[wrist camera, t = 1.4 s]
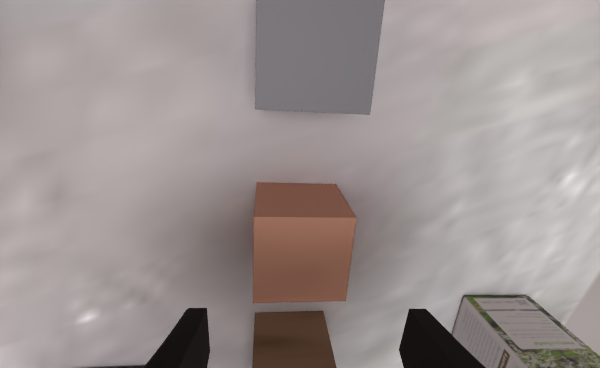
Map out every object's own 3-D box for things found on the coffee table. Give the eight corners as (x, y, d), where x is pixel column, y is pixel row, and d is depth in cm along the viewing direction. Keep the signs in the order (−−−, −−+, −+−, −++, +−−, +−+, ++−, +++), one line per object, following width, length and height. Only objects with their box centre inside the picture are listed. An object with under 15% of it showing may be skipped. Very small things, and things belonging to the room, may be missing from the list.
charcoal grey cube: (343, 103, 19) (370, 114, 14) (258, 99, 18) (255, 109, 13) (353, 7, 17) (386, -16, 12) (259, -1, 16) (256, -29, 12)
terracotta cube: (328, 251, 22) (345, 301, 17) (255, 252, 21) (252, 303, 17) (335, 183, 20) (356, 217, 16) (256, 181, 20) (253, 216, 15)
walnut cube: (317, 361, 25) (329, 427, 21) (254, 363, 25) (251, 432, 20) (322, 310, 24) (336, 369, 19) (255, 311, 23) (252, 373, 18)
